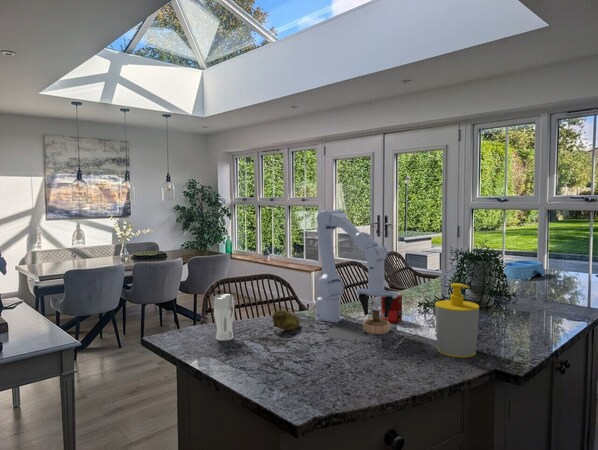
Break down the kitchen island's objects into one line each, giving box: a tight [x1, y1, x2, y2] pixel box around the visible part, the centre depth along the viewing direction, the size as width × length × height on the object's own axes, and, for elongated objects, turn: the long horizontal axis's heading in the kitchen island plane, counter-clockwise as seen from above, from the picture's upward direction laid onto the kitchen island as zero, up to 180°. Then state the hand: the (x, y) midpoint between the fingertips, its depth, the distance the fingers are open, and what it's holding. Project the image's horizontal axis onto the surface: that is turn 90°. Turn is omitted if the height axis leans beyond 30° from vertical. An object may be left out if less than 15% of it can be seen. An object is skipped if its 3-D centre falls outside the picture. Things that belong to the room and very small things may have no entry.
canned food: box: [380, 290, 403, 324], centre depth 170 cm, size 8×8×11 cm
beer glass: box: [213, 293, 235, 342], centre depth 151 cm, size 7×7×15 cm
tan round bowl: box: [362, 320, 391, 335], centre depth 157 cm, size 9×9×3 cm
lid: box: [364, 309, 387, 326], centre depth 156 cm, size 8×8×4 cm
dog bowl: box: [504, 260, 546, 280], centre depth 264 cm, size 34×19×8 cm, turn 125°
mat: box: [321, 326, 367, 342], centre depth 153 cm, size 12×12×1 cm
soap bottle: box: [434, 282, 480, 358], centre depth 135 cm, size 13×13×21 cm
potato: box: [271, 309, 300, 331], centre depth 160 cm, size 8×13×8 cm, turn 127°
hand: (376, 315), depth 157 cm, fingers open, 7 cm apart
